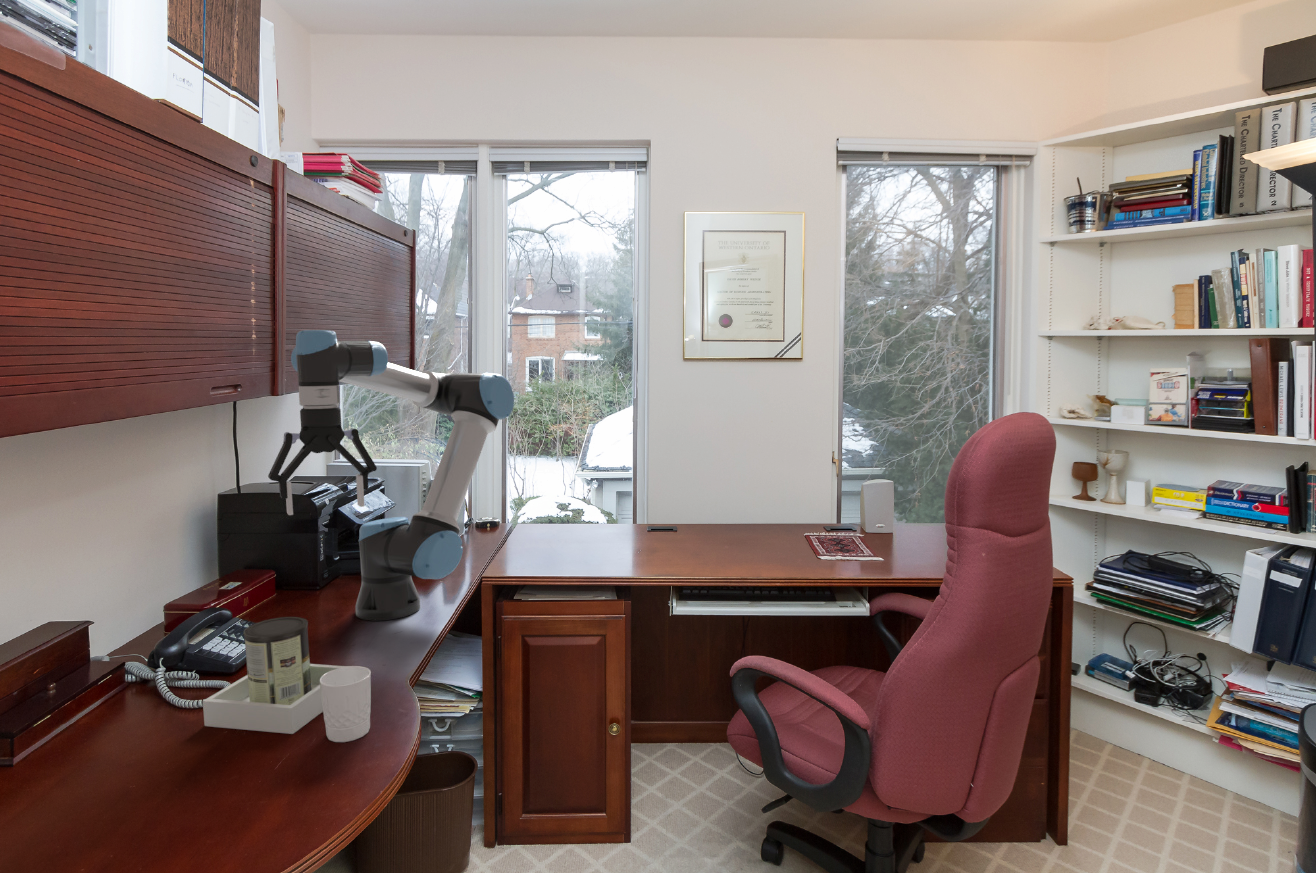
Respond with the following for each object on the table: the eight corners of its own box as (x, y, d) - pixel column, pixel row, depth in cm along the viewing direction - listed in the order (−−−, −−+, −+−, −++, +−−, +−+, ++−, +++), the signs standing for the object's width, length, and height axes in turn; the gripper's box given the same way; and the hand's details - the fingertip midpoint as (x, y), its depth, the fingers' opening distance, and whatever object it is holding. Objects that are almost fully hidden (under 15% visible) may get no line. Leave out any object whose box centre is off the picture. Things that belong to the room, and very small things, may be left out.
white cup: (322, 748, 120) (318, 689, 119) (323, 726, 127) (319, 670, 126) (374, 738, 123) (371, 680, 122) (372, 717, 130) (369, 662, 129)
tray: (204, 725, 128) (202, 700, 127) (272, 683, 144) (271, 660, 144) (293, 733, 125) (291, 708, 124) (352, 689, 141) (350, 666, 141)
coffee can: (281, 685, 141) (276, 613, 139) (325, 693, 138) (320, 619, 136) (234, 710, 131) (229, 633, 130) (280, 718, 128) (275, 639, 126)
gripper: (253, 411, 141) (260, 521, 143) (388, 404, 155) (393, 505, 157) (248, 408, 147) (255, 514, 149) (379, 403, 161) (384, 499, 163)
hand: (326, 509), depth 153 cm, fingers open, 13 cm apart
